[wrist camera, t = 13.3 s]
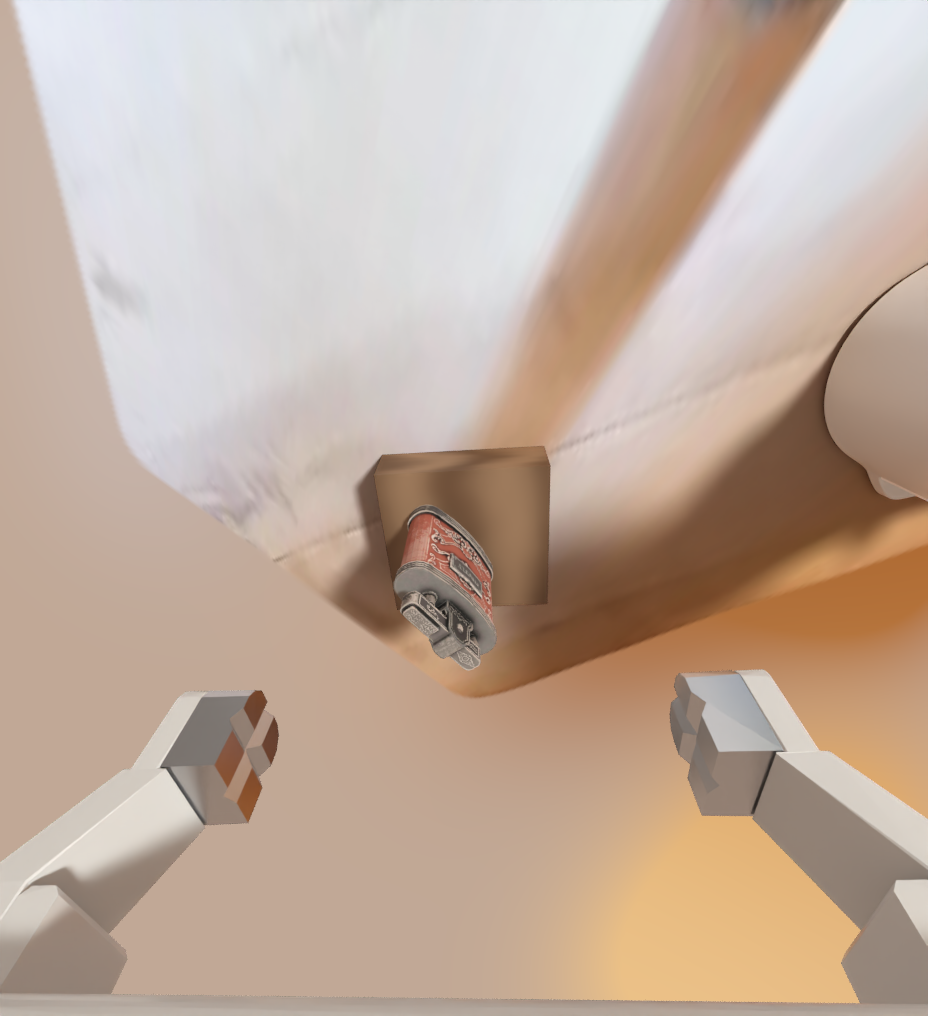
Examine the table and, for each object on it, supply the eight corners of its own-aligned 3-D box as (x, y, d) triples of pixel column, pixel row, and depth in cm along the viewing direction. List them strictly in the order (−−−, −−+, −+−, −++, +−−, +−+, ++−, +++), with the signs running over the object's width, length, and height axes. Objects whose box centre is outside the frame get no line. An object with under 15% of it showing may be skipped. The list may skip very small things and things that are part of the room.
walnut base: (543, 446, 36) (550, 465, 32) (541, 576, 41) (547, 604, 38) (382, 454, 36) (373, 475, 33) (402, 582, 42) (397, 609, 39)
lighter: (503, 568, 37) (512, 672, 28) (468, 590, 38) (466, 696, 29) (433, 495, 34) (418, 585, 25) (397, 521, 35) (372, 616, 26)
